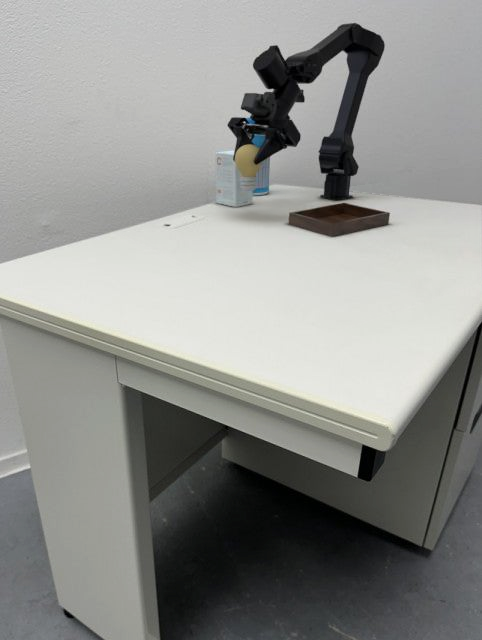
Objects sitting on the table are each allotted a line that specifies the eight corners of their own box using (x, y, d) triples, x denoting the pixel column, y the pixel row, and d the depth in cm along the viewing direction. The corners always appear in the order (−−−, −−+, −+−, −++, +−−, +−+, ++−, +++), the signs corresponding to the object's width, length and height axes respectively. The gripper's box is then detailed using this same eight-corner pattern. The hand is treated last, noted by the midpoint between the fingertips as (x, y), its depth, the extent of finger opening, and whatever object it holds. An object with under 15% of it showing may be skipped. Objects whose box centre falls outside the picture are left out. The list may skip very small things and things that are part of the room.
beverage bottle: (261, 197, 154) (262, 119, 144) (235, 194, 158) (235, 118, 149) (274, 191, 160) (276, 116, 151) (249, 189, 164) (249, 116, 155)
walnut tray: (342, 213, 133) (343, 202, 132) (388, 224, 123) (390, 212, 121) (288, 224, 126) (288, 212, 124) (332, 236, 115) (333, 224, 114)
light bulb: (232, 188, 130) (232, 143, 125) (258, 187, 131) (259, 142, 126) (238, 193, 125) (238, 147, 120) (265, 191, 125) (266, 145, 121)
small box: (252, 203, 146) (253, 151, 140) (235, 207, 143) (235, 154, 137) (232, 199, 152) (232, 149, 146) (215, 203, 148) (214, 152, 142)
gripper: (232, 78, 125) (198, 135, 124) (294, 76, 112) (256, 140, 112) (256, 113, 133) (224, 167, 133) (316, 115, 121) (281, 175, 120)
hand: (244, 162), depth 124 cm, fingers closed on light bulb, 6 cm apart
